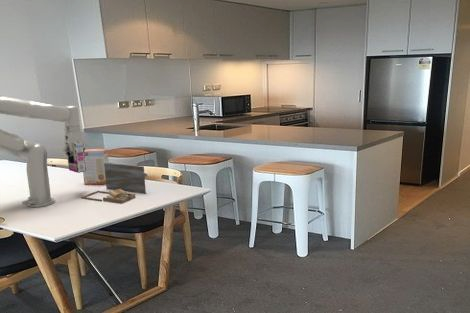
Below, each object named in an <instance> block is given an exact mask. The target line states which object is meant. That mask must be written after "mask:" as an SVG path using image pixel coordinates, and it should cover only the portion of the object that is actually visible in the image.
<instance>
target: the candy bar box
mask: <svg viewBox="0 0 470 313" xmlns="http://www.w3.org/2000/svg"><path fill="white" fill-rule="evenodd" d="M73 147H74V151H73V155H72V156H73V157H74V163H69V159H68V156H67V155H66V156H67V165H68V170H69V171H70V172H74V173H78V174H79V173H80V174H81V173H83V172H85V171H86V165H85V156H84V146H83V142H82V141H77V142H73Z"/></svg>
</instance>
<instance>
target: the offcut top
mask: <svg viewBox="0 0 470 313" xmlns="http://www.w3.org/2000/svg"><path fill="white" fill-rule="evenodd" d="M108 192H109V194H108V195H110V196H112V197H114V198H119V197H124V196H126V193H127V192H126V191H123V190H121V189H117V190H109V191H108Z"/></svg>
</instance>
